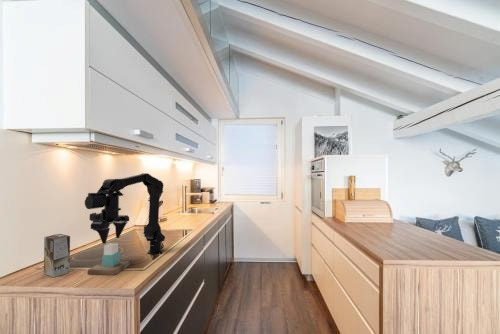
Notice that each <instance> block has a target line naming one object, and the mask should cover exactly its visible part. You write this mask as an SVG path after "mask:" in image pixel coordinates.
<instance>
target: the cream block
mask: <svg viewBox="0 0 500 334" xmlns="http://www.w3.org/2000/svg"><path fill="white" fill-rule="evenodd" d="M117 252H119V243H118V242H116V243H115V242H112V243H111V242H110V243H107V244H104V245H103V255H113V254H115V253H117Z"/></svg>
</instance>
